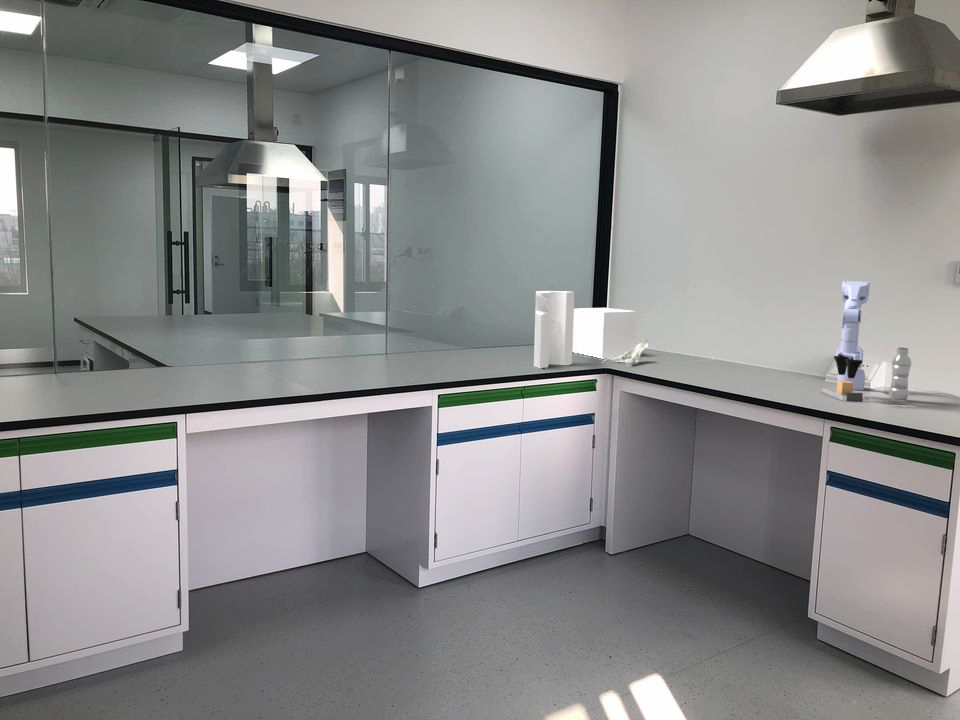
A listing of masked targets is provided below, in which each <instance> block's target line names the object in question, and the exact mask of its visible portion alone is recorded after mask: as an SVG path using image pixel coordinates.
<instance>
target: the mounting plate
mask: <svg viewBox="0 0 960 720" xmlns="http://www.w3.org/2000/svg"><path fill="white" fill-rule="evenodd" d="M836 391H837V390H833V389H831V388H828V387H822V388H821V391H820V392H819V394H822V395H825V396H827V397H830V398H832V399H834V400H837V401H838V402H851V403H852V402H853V403H854V402H856V403H860V402H861V403H864V402H866V403H867V400H866V398H865V397H863V395H864V394H863V392H853V393H846V395H844V394H841V393H839V392H836Z"/></svg>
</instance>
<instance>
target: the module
mask: <svg viewBox="0 0 960 720" xmlns="http://www.w3.org/2000/svg"><path fill="white" fill-rule="evenodd" d="M853 385H854V383H853V382H850V381H838V380H837V382H836V390H835V391H836V392H839V393H841V394H844V395H846V393H854V390H853Z"/></svg>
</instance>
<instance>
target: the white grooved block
mask: <svg viewBox="0 0 960 720" xmlns="http://www.w3.org/2000/svg"><path fill="white" fill-rule="evenodd" d="M534 305H535V309H534V340H533V341H534V343H533V344H534V346H533V347H534V349H533V367H534V366H535V367H538V368H543V367H548V368H549V366H548V365H549V364H560V365H569V364H572V365H573V354H572V349H573V321H574V309H575V291H560V290H559V291H558V290H555V291H554V290H539V291H535V304H534ZM535 367H534V368H535Z"/></svg>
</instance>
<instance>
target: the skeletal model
mask: <svg viewBox="0 0 960 720" xmlns="http://www.w3.org/2000/svg"><path fill="white" fill-rule="evenodd" d="M649 343H650V342H649V340H647V338H646V337H644V338H643V340H642V341H641V342H639V343H638V344H637V345H635V348H634V349H633V350H631V351H629V352H624V355H620V356H618V357H613V358H610V357H612V356H614V355H612V356H610V357H608V358H607V359H605V360H602V362H601V364H602V363H603V364H604V363H605V361H607V360H610V361H614V362H615V363H617V362H619V363H626V364H627V365H625V367H626V368H627V367H628V366H630V365H631V366H633V365H636V364H637V363H638V362H640V360H642V359H641V356H642V352H643V351H644V350H645V349H647V348H648V347H649V345H650V344H649ZM618 354H622V353H618ZM627 354H628V355H627ZM615 355H617V354H615ZM622 356H625V358H622ZM625 367H624V368H625Z"/></svg>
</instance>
